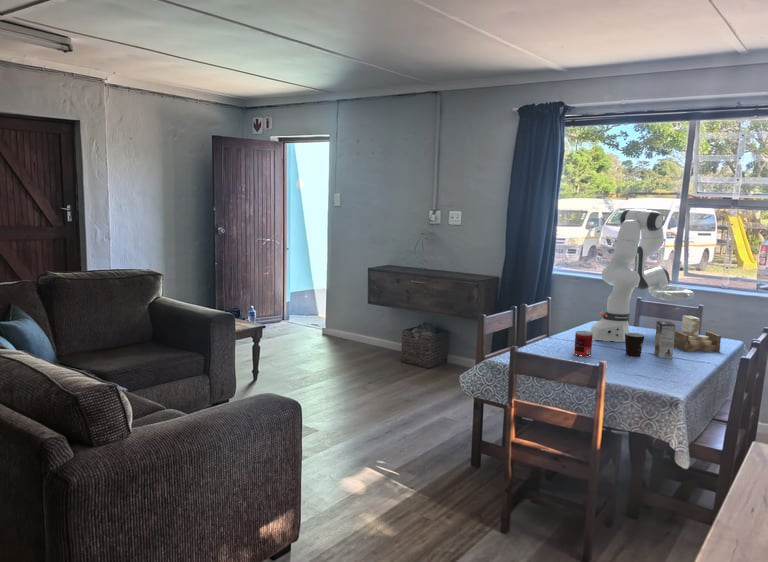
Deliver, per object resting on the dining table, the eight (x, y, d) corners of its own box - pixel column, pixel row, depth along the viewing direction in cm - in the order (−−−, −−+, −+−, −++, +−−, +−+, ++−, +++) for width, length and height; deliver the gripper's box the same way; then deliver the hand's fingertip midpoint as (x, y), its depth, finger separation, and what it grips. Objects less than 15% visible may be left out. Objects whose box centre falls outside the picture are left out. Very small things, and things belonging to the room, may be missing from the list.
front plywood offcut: (689, 350, 285) (689, 341, 285) (686, 349, 287) (687, 340, 287) (711, 351, 286) (711, 341, 285) (708, 350, 288) (709, 340, 287)
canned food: (591, 354, 275) (592, 331, 274) (591, 358, 267) (592, 334, 266) (574, 352, 277) (575, 330, 276) (574, 356, 270) (575, 333, 269)
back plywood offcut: (686, 349, 288) (687, 336, 287) (684, 348, 290) (685, 335, 289) (708, 349, 288) (709, 337, 287) (705, 348, 290) (707, 336, 289)
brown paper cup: (634, 358, 268) (636, 337, 267) (619, 354, 276) (620, 333, 275) (651, 355, 274) (652, 335, 272) (636, 351, 281) (637, 331, 280)
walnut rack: (684, 351, 284) (685, 335, 283) (673, 346, 294) (674, 330, 293) (719, 351, 284) (721, 336, 283) (707, 346, 294) (709, 331, 293)
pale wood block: (688, 347, 292) (691, 318, 290) (680, 343, 300) (682, 315, 298) (697, 347, 292) (699, 318, 290) (688, 343, 300) (691, 315, 298)
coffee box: (653, 353, 279) (656, 320, 277) (667, 354, 278) (670, 321, 276) (658, 357, 270) (661, 324, 268) (673, 358, 269) (676, 325, 267)
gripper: (649, 287, 318) (661, 290, 304) (686, 287, 318) (699, 291, 305) (648, 298, 319) (660, 302, 305) (685, 298, 319) (698, 302, 305)
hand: (680, 296), depth 305 cm, fingers open, 8 cm apart
